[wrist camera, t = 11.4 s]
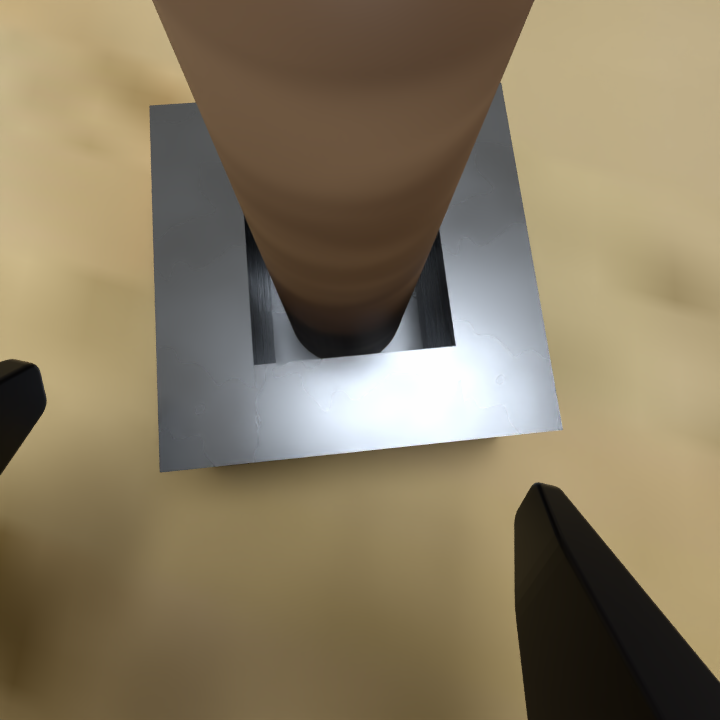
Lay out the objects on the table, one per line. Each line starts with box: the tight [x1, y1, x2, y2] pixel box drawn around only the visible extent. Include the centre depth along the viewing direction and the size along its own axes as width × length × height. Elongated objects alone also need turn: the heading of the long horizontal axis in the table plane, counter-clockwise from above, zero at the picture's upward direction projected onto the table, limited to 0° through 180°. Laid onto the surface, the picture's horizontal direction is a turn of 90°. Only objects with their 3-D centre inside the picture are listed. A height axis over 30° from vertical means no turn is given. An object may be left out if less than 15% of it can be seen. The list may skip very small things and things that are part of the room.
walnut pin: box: [152, 0, 534, 359], centre depth 11 cm, size 4×4×13 cm
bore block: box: [150, 83, 563, 472], centre depth 15 cm, size 10×10×5 cm
